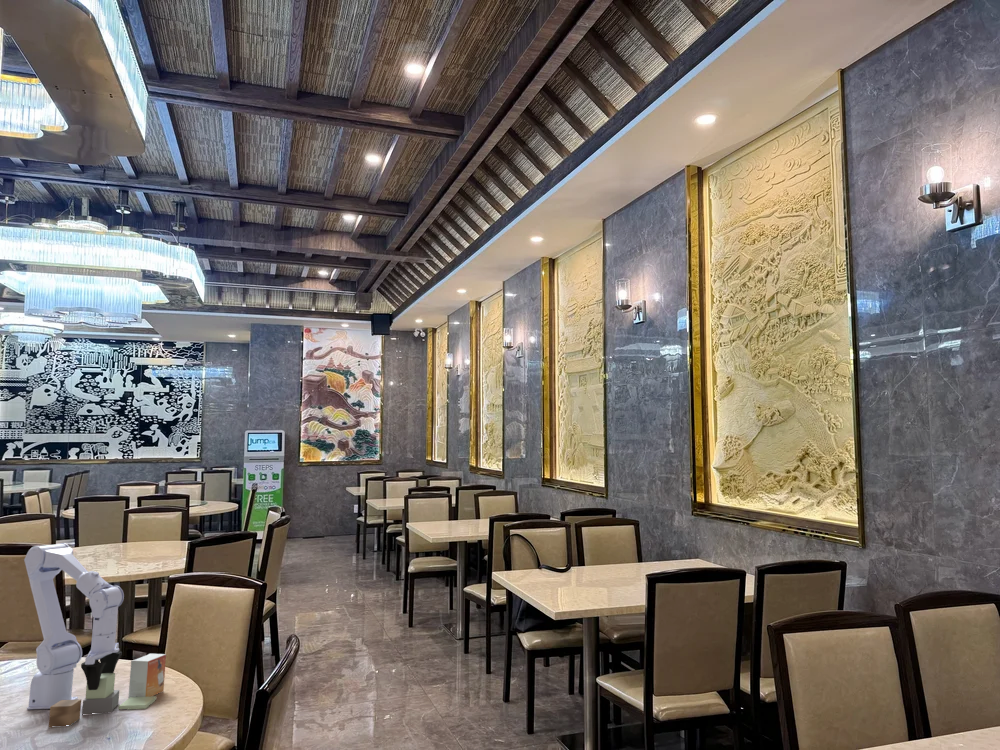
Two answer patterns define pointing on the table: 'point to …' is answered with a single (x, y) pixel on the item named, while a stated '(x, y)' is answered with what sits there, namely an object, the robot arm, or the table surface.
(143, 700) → the sage green tile
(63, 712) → the walnut block
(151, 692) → the small box
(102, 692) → the sage green block
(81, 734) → the table surface
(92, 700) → the charcoal base block
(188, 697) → the table surface
